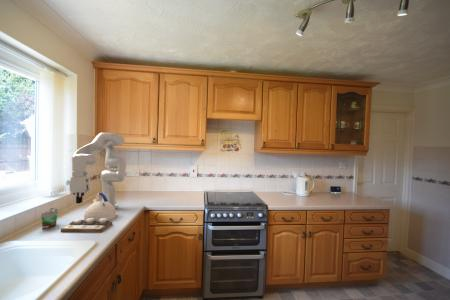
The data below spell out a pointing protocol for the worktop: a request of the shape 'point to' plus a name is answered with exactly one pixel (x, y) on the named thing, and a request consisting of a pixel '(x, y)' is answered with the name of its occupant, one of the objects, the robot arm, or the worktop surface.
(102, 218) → the button
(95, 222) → the button board
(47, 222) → the food container
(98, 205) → the kettle
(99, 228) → the pattern card
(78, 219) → the button
